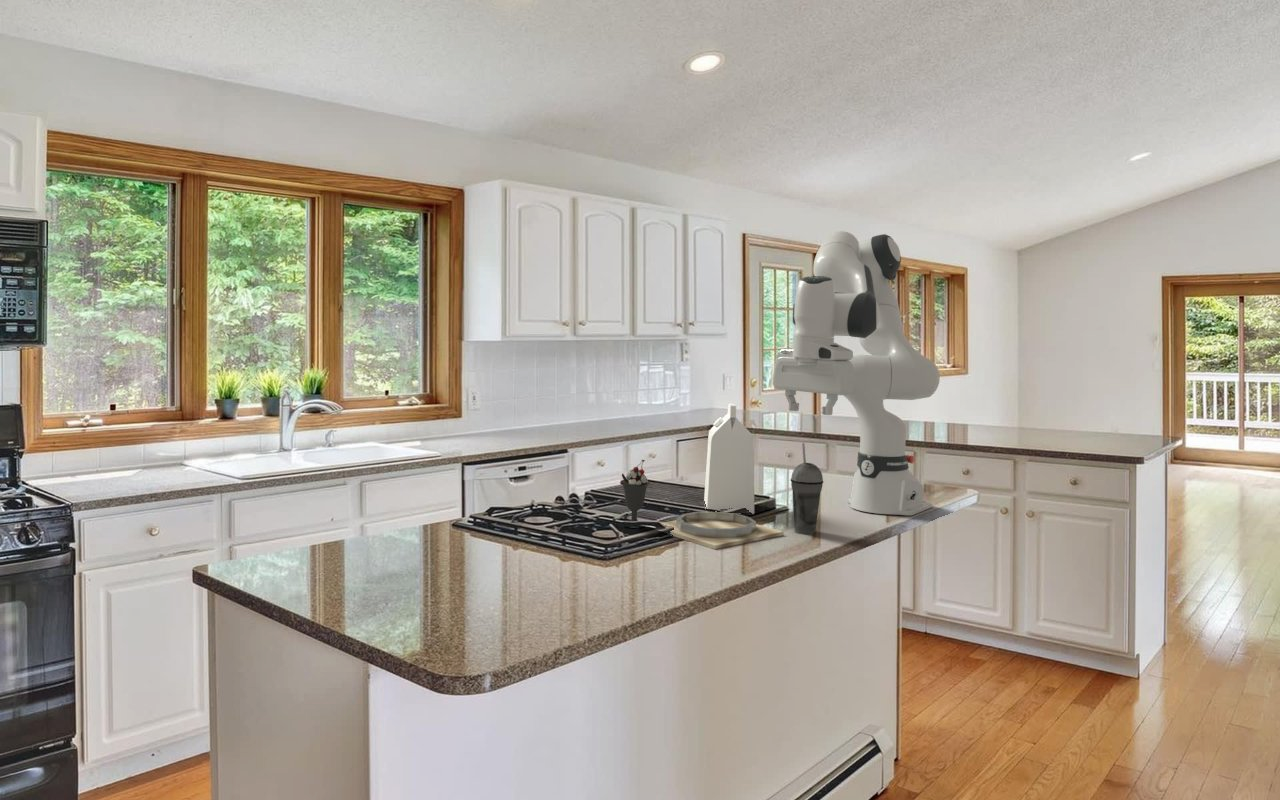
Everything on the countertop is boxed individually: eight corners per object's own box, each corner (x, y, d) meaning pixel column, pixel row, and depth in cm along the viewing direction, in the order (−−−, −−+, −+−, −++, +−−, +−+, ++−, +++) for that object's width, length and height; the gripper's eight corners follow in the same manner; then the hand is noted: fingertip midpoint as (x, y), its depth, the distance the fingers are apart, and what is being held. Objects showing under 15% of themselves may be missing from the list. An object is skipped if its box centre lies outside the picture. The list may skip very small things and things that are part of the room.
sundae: (653, 524, 196) (655, 459, 195) (641, 531, 190) (642, 463, 189) (627, 521, 199) (629, 456, 198) (614, 527, 193) (615, 460, 192)
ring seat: (716, 516, 206) (716, 505, 206) (783, 535, 190) (784, 523, 190) (649, 528, 193) (649, 516, 193) (714, 549, 177) (715, 536, 176)
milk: (754, 513, 210) (758, 407, 208) (706, 512, 210) (710, 406, 208) (748, 503, 222) (752, 402, 220) (704, 502, 222) (707, 401, 220)
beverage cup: (824, 536, 190) (828, 446, 188) (790, 535, 190) (794, 445, 188) (817, 528, 197) (821, 441, 195) (785, 527, 197) (789, 440, 195)
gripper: (767, 348, 196) (765, 408, 197) (841, 352, 180) (838, 418, 181) (786, 348, 200) (783, 407, 201) (859, 352, 184) (856, 416, 185)
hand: (810, 412), depth 191 cm, fingers open, 8 cm apart
